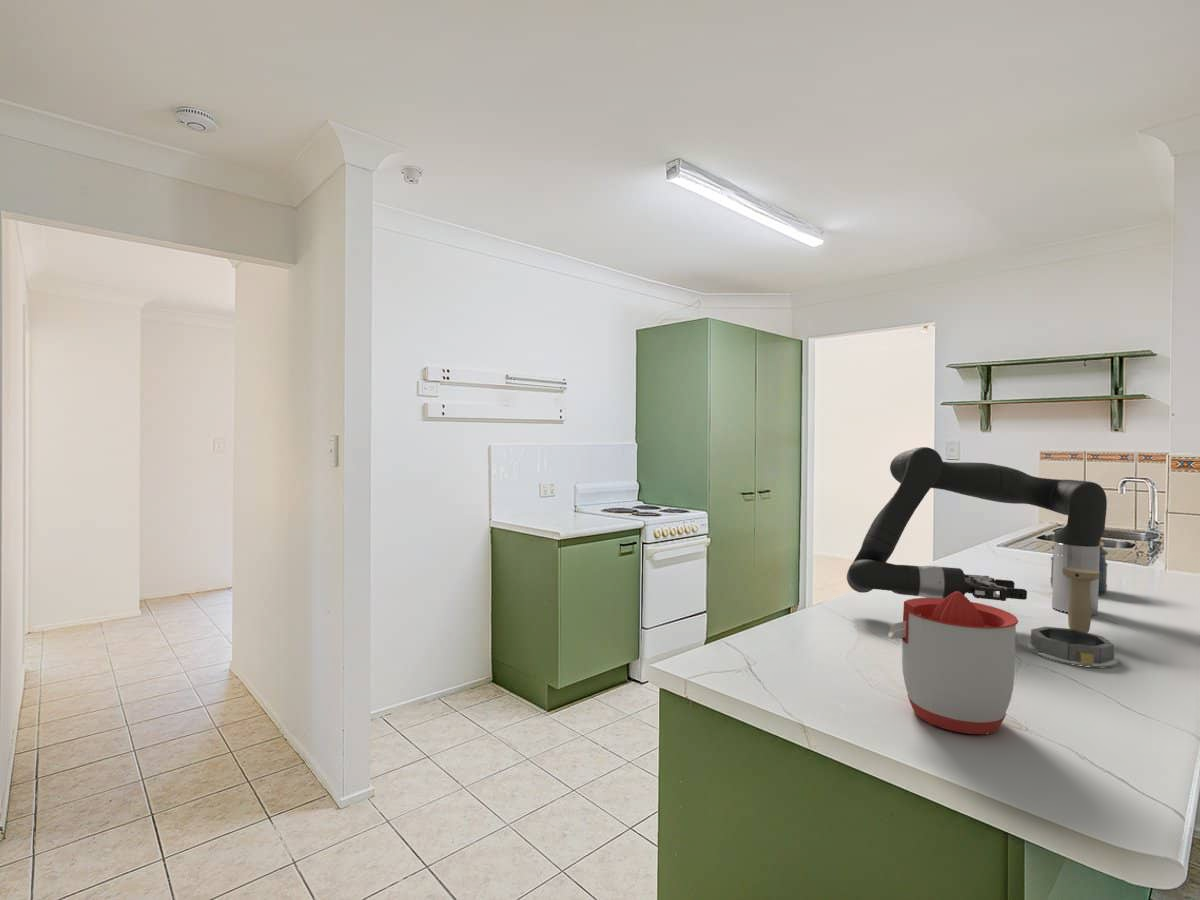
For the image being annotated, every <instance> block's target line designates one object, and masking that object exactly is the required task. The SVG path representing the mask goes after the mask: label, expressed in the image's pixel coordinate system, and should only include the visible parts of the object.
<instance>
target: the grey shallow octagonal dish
mask: <svg viewBox="0 0 1200 900" xmlns="http://www.w3.org/2000/svg"><path fill="white" fill-rule="evenodd" d="M1027 649H1028V651H1030V652H1031V653H1032V654H1035V655H1036V656H1038V655H1039V657H1041V656H1042V657H1041V658H1043V657H1045V658H1044V659H1046V658H1048V659H1047V660H1049V659H1051V660H1050V661H1052V660H1055V661H1054V662H1056V661H1058V662H1057V663H1060V662H1063V663H1062V664H1064V663H1068V664H1067V665H1069V664H1074V665H1082V666H1090V667H1110V668H1112V667H1111V666H1114V665H1116V664H1117V665H1118V659H1117V657H1116V656H1115V644H1114V643H1113V642H1111V641H1110V640H1108V639H1107V638H1105V637H1104V636H1102V635H1098V634H1094V633H1092V632H1091V633H1090V632H1088V633H1087V632H1083V631H1079V630H1075V629H1069V628H1066V627H1052V626H1042V627H1037V628H1033V629H1031V630H1030V641H1028V643H1027ZM1074 665H1073V666H1074ZM1117 665H1116V666H1117ZM1114 667H1115V666H1114Z"/></svg>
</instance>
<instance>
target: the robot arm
mask: <svg viewBox="0 0 1200 900" xmlns="http://www.w3.org/2000/svg"><path fill="white" fill-rule="evenodd" d="M889 471H890V474H891V476H892V477H893V478H894V480H896V481H897V482H898V483H899V486H898V488H897V490H896V491H895V492H894V494H893V495H892V497H891V498H890V499H889V500H888V502H887V503H886V504H885V505H884V507H883V508H882V509H881V510H880V511H879V513H878V514H877V515H876V516H875V518H874V519H873V520H872V523H871V525H869V526H870V527H869V528H868V531H867V532H866V534H865V537H864V539H863V540H862V541H863V542H862V543H861V547H860V549H859V551H858V553H857V554H856V556H855V558H854V560H853V562H852V563H851V565H850V566H849V568H848V570H847V573H846V581H847V583H848V586H849V587H850V589H852V590H853V591H855V592H856V593H862V594H863V593H864V594H865V593H869V592H871V591H872V590H879V591H880V590H881V591H887V592H888V591H889V592H892V593H894V594H897V595H903V596H913V597H919V598H946V597H947V596H949V595H950V594H952V593H953V592H955V591H959V592H961V593H962V594H963V595H964V596H966V595H965V594H971V595H972V596H973V598H975V599H983V600H990V601H991V600H993V601H994V600H995V601H1001V602H1005V601H1007V599H1011V600H1012V599H1013V600H1022V601H1023V600H1027V599H1028V591H1027V589H1025V588H1015V581H1013V580H1009V579H999V578H998V579H997V578H994V577H992V576H991V577H990V576H988V575H978V574H967V573H966V574H965V572H964V571H963V569H962V568H959V567H947V566H946V567H945V566H935V565H934V566H933V565H908V564H894V563H889V562H888V560H889V559H890V557H891V555H892V554H894V552H895V551H894V550H895V549H896V547H897V544H898V543H899V541H900V539H901V536H902V534H903V532H904V531H905V528H906V527H907V525H908V524H909V521H910V519H911V518H912V516H913V515H914V513H915V511H916V510H917V509H918V507H919V505H920V504H921V502H922V501H923V500H924V498H925V496H926V495H927V494H928V492H929V491H930V490H931V489H936V490H943V491H947V492H952V493H955V494H960V495H963V496H968V497H971V498H972V497H973V498H977V499H980V500H987V501H991V502H996V503H997V502H998V503H1003V504H1013V505H1014V504H1018V505H1019V504H1020V505H1021V504H1022V505H1031V506H1033V507H1034V506H1035V507H1040V508H1043V509H1046V510H1048V511H1051V512H1052V511H1053V512H1055V513H1058V514H1061V515H1064V516H1067V522H1066V525H1065V526H1064V527H1063V528H1059V529H1056V530H1055V531H1054V534H1053V546H1054V560H1053V587H1052V594H1051V595H1052V597H1051V608H1052V607H1053V608H1052V609H1054V608H1055V609H1054V610H1056V609H1057V610H1056V611H1058V610H1060V611H1059V612H1062V611H1064V612H1063V613H1066V612H1068V607H1069V598H1070V587H1071V580H1070V578H1068V577H1067V576H1065V575H1064V574H1063V573H1062V568H1063V567H1073V568H1082V569H1089V570H1094V571H1098V572H1099V555H1100V541H1101V539H1102V538H1103V535H1104V533H1105V527H1106V517H1107V510H1108V509H1107V505H1108V501H1107V500H1108V499H1107V495H1106V491H1105V490H1104V489H1103V487H1102V486H1101V485H1100V484H1099V483H1096V482H1092V481H1085V480H1076V479H1075V480H1074V479H1055V478H1048V477H1047V478H1046V477H1045V478H1044V477H1039V476H1033V475H1030V474H1028V473H1025V472H1023V471H1021V470H1018V469H1016V468H1012V467H1009V466H1005V465H1004V466H1003V465H999V464H994V463H989V462H969V461H967V462H952V461H950V462H948V461H943V459H942V456H941V455H940V454H939V452H938V451H937V450H935V449H933V448H931V447H928V446H921V447H915V448H912V449H909V450H905V451H903V452H900V453H898V454H897V455H896V456H895V457H894V458H893V459H892V461H891V462H890V466H889ZM1098 590H1099V578H1098V579H1096V580H1093V581H1091V583H1090V601H1091V616H1096V614H1097V615H1098V613H1099V612H1098V611H1099V595H1098ZM997 592H999V594H998V593H997Z"/></svg>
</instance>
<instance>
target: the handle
mask: <svg viewBox="0 0 1200 900" xmlns="http://www.w3.org/2000/svg"><path fill="white" fill-rule="evenodd" d="M1062 573H1063V574H1064V575H1065V576H1067V577H1068V578H1070V580H1071V587H1070V598H1069V607H1068V613H1067V622H1068V629H1075V630H1079V631H1083V632H1087V633H1090V628H1091V622H1092V615H1091V601H1090V583H1091V581H1093V580H1096V579H1098V578H1099V576H1100V572H1098V571H1094V570H1089V569H1082V568H1073V567H1063V568H1062Z"/></svg>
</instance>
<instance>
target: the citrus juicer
mask: <svg viewBox="0 0 1200 900" xmlns="http://www.w3.org/2000/svg"><path fill="white" fill-rule="evenodd" d="M902 612H903V613H902V615H903V616H902V621H899V622H895V623H894V624H892V626H891V627H890V630H889V632H888V638H889V639H902V642H901V643H902V644H901V646H902V647H901V648H902V649H901V662H902V663H901V665H902V667H901V668H902V675H903V681H904V685H905V689H906V692H907V698H908V700H909V704H910V705H911V708H912V710H913V713H915V715H916V716H918V718H920V719H921V720H923V721H925V722H928V723H929V724H928V723H927V724H928V725H930V724H932V725H935V726H934V727H937V726H938V727H939V728H942V729H943V730H944V729H945V730H948V731H952V732H956V733H963V734H970V735H984V734H987V733H989V734H993V733H994V732H996V731H998V730H999V728H1000V727H1001V726H1002V723H1003V721H1004V719H1005V718H1006V715H1007V710H1008V708H1009V705H1010V703H1011V699H1012V696H1013V695H1012V694H1013V691H1014V684H1015V673H1016V671H1015V669H1016V662H1015V661H1016V630H1017V629H1016V628H1017V625H1018V623H1019V620H1018V618H1017V616H1015V614H1013V613H1010V612H1009V611H1007V610H1004V609H1001V608H999V607H998V608H997V607H995V606H992V605H987V604H984V603H977V602H975V601H970V600H969V598H968V597H967V596H966V595H963V594H962V593H961V592H959V591H955V592H953V593H952V594H950V595H949V596H947V597H946V598H925V597H916V598H911V599H906V600H904V601H903V611H902ZM932 725H931V726H932ZM987 735H988V734H987Z"/></svg>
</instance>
